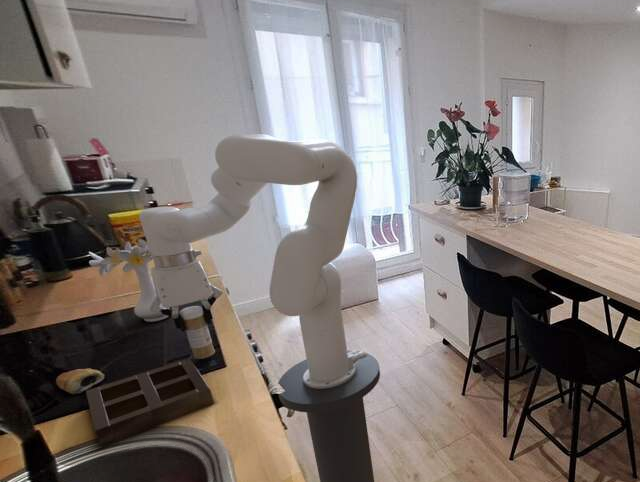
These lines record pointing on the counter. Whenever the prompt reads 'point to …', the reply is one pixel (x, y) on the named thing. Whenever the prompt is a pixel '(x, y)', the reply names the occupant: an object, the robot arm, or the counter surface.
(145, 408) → the compartment tray
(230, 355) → the counter surface
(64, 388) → the pastry
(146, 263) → the flower vase
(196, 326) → the sprinkles bottle
